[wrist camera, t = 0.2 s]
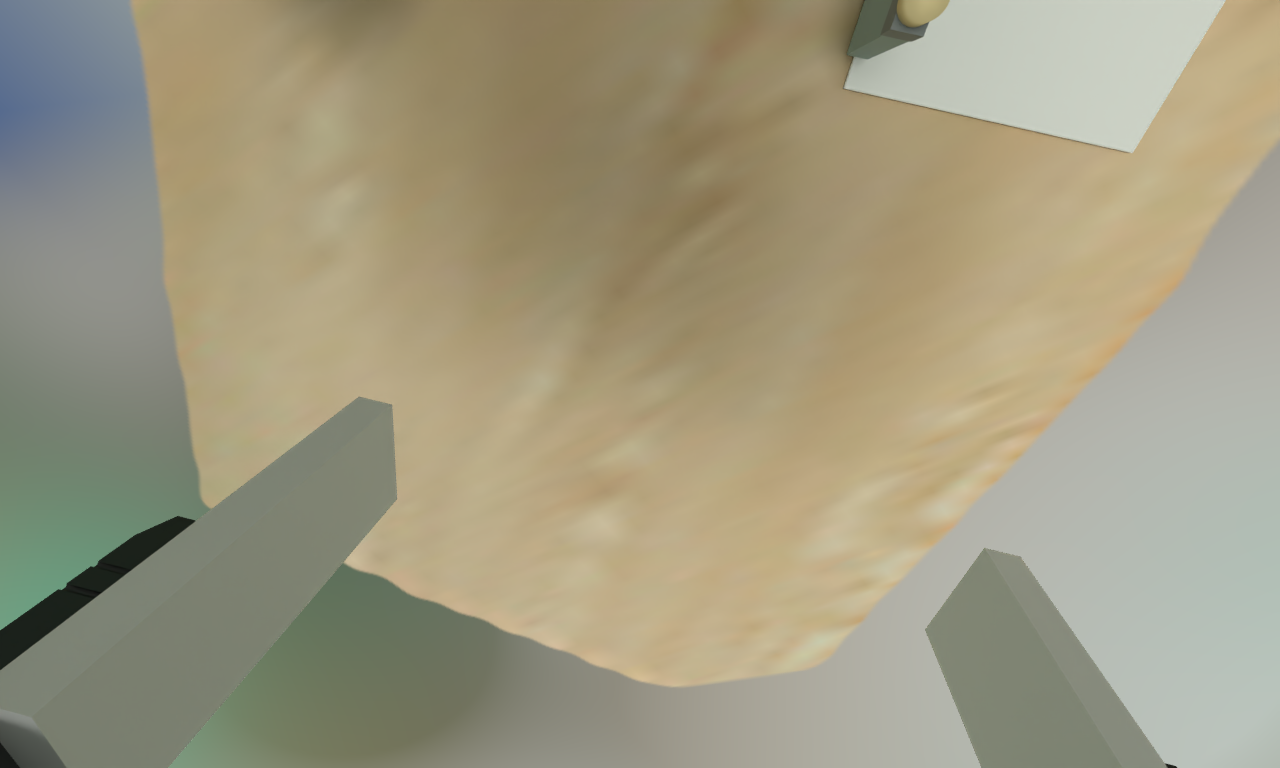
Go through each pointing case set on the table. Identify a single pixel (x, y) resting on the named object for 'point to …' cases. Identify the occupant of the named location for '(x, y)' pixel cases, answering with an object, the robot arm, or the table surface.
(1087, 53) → the mat
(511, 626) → the table surface
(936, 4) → the gate
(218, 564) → the robot arm
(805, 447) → the table surface
